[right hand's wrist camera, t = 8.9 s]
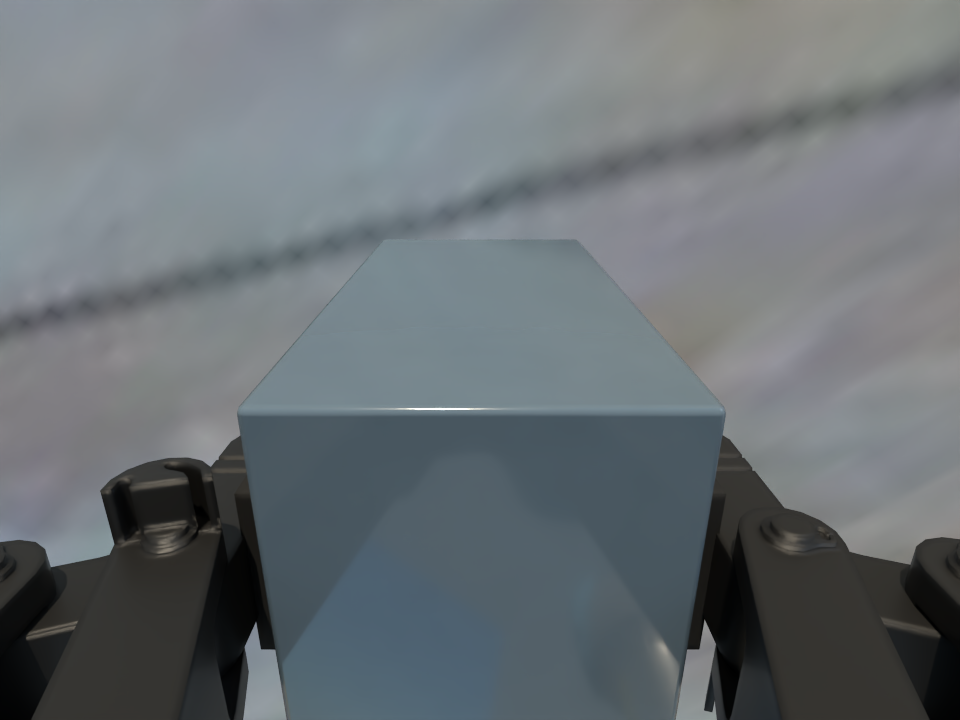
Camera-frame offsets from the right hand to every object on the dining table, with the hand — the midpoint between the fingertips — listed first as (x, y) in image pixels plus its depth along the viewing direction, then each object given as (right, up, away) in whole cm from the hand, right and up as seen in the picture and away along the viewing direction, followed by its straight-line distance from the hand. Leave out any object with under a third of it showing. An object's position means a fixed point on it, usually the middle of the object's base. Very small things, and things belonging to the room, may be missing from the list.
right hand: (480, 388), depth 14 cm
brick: (0, +1, +2) cm, 2 cm away
